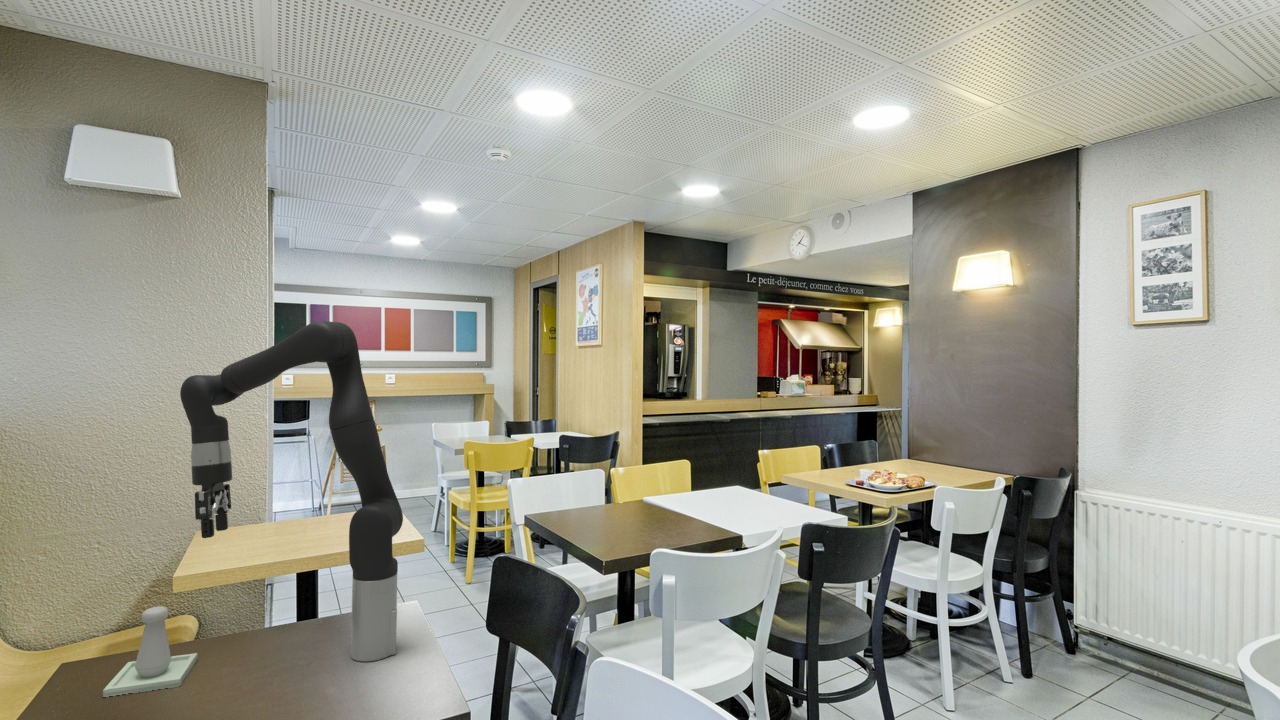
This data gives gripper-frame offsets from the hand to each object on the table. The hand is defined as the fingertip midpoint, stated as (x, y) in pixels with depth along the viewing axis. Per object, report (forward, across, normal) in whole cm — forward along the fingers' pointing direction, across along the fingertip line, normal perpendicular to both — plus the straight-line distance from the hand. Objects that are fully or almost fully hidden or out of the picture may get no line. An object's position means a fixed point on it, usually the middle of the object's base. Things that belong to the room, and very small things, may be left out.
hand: (215, 533), depth 140 cm
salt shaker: (+25, -12, +8) cm, 29 cm away
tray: (+25, -12, +8) cm, 29 cm away
